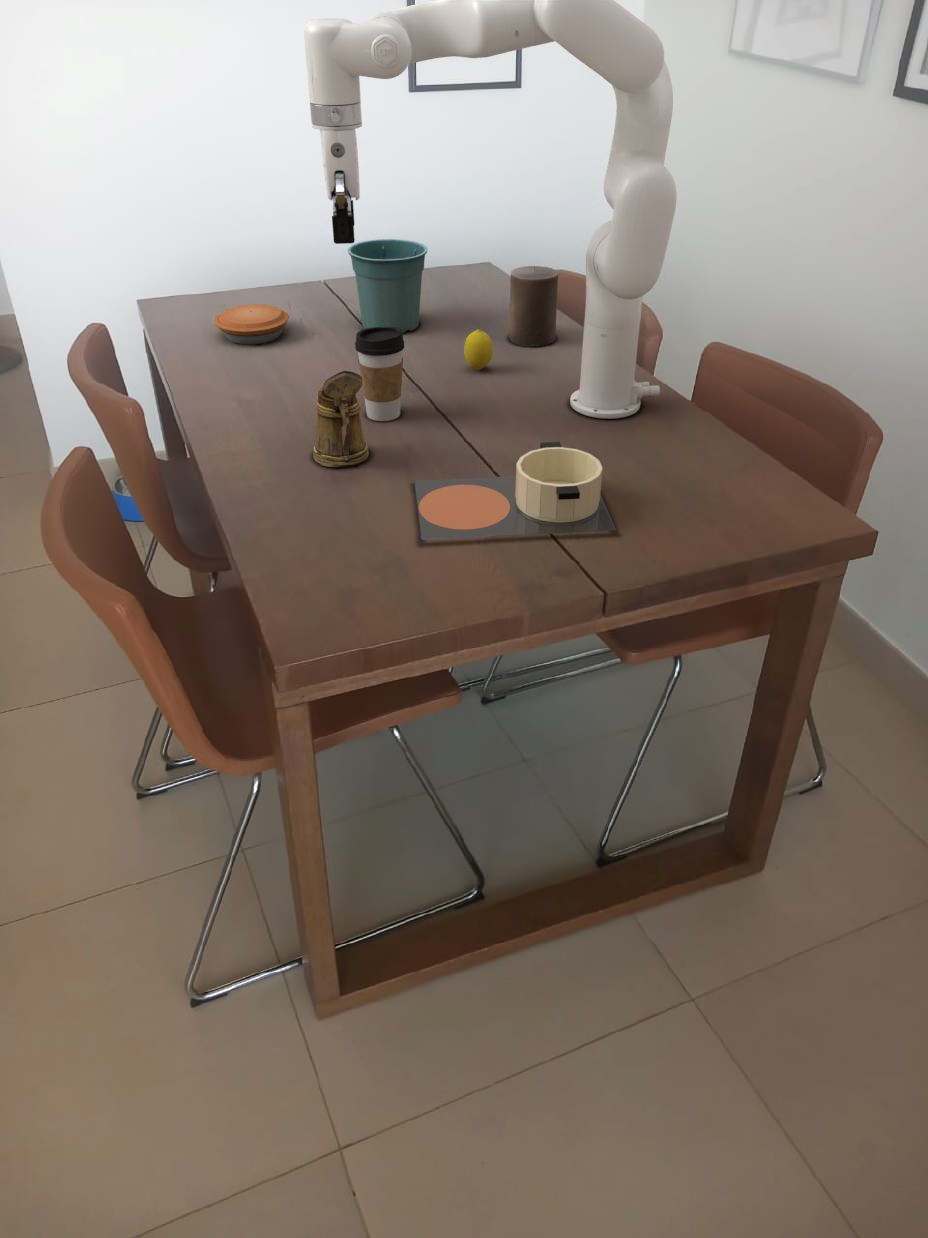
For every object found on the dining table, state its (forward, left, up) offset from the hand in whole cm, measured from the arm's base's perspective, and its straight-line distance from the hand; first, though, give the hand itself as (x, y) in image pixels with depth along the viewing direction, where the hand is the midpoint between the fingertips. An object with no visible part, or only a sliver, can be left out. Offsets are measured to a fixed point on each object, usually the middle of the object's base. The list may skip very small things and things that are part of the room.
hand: (344, 234), depth 158 cm
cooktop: (-23, +36, -31) cm, 52 cm away
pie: (+21, -43, -31) cm, 57 cm away
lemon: (-24, -19, -31) cm, 44 cm away
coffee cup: (-5, 0, -31) cm, 32 cm away
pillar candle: (-37, -35, -31) cm, 60 cm away
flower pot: (-8, -46, -31) cm, 56 cm away
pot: (-30, +36, -30) cm, 55 cm away
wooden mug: (+2, +18, -31) cm, 36 cm away
